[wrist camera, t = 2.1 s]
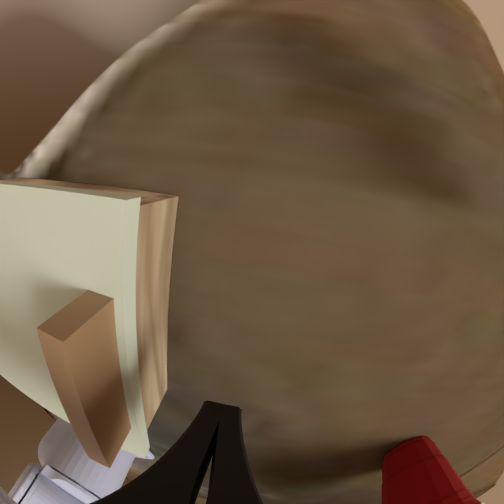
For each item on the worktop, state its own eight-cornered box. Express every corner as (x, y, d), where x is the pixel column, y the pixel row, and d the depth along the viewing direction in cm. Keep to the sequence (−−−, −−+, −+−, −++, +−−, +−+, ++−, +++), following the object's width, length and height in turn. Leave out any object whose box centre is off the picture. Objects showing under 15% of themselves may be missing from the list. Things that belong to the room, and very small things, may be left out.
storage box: (178, 196, 14) (132, 208, 9) (167, 389, 18) (143, 437, 13) (21, 177, 14) (-27, 185, 10) (36, 332, 18) (3, 359, 14)
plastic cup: (373, 483, 21) (385, 557, 10) (345, 456, 19) (357, 560, 8) (453, 443, 19) (481, 513, 7) (447, 404, 17) (493, 499, 5)
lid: (140, 196, 9) (60, 216, 5) (149, 447, 13) (129, 493, 9) (-33, 178, 9) (-76, 187, 5) (0, 363, 13) (-26, 386, 10)
